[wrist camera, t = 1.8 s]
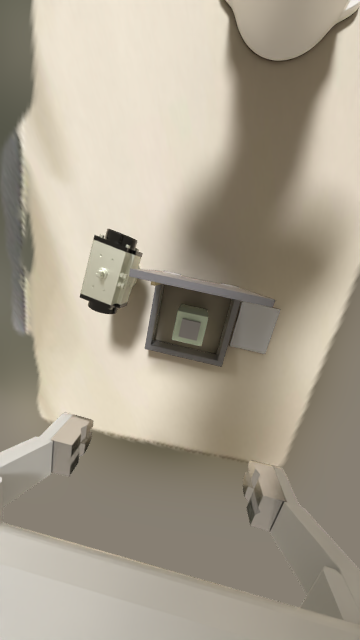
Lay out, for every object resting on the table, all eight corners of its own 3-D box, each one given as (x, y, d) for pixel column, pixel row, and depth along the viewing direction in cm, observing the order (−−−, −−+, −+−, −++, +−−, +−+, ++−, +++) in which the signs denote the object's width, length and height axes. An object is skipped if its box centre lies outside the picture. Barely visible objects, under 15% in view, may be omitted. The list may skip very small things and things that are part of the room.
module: (181, 303, 38) (177, 311, 30) (206, 309, 37) (208, 318, 30) (176, 328, 39) (171, 340, 31) (200, 333, 39) (201, 347, 31)
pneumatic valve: (110, 297, 39) (72, 307, 27) (127, 238, 36) (92, 221, 24) (136, 307, 39) (109, 322, 27) (155, 249, 36) (133, 237, 24)
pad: (242, 301, 36) (242, 301, 36) (279, 309, 36) (280, 309, 36) (229, 345, 38) (229, 346, 38) (264, 353, 38) (265, 354, 38)
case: (161, 269, 36) (130, 266, 20) (240, 286, 36) (275, 298, 19) (148, 343, 40) (113, 391, 24) (220, 359, 39) (234, 421, 23)
